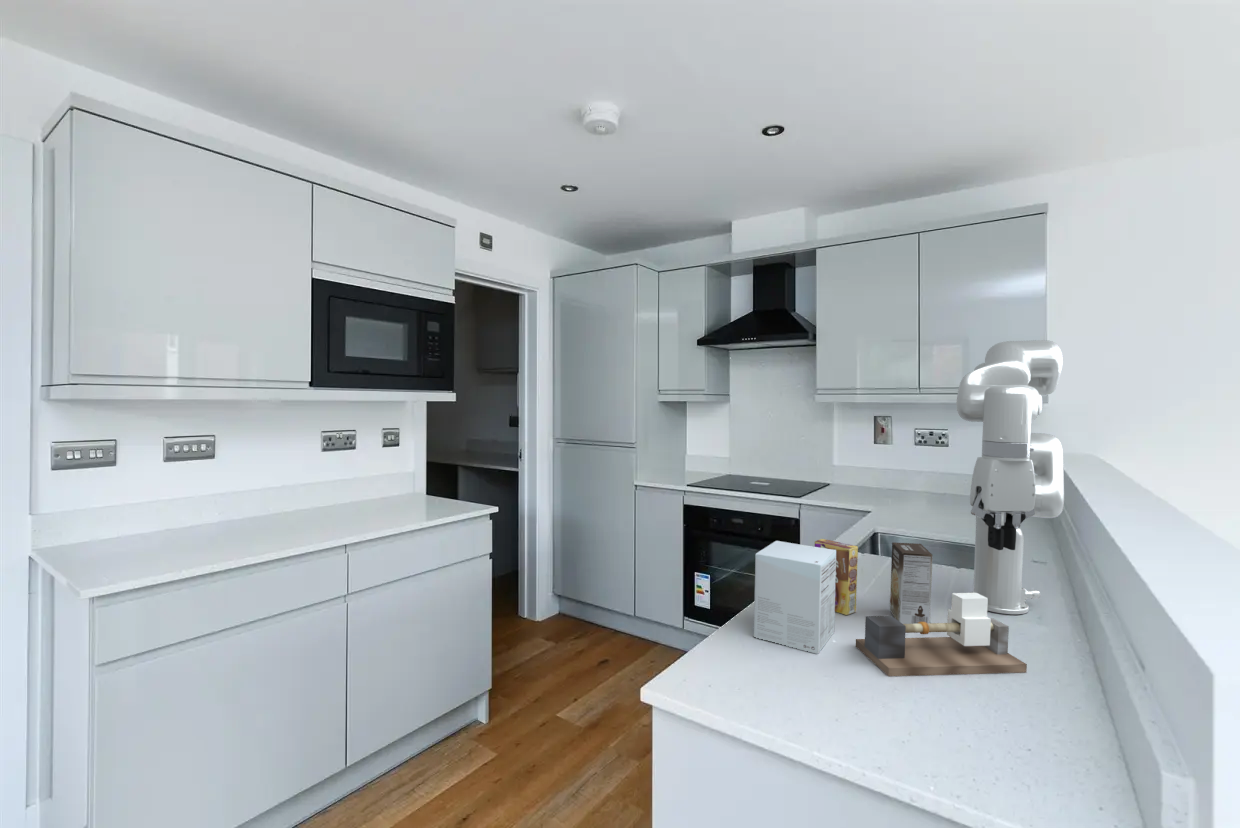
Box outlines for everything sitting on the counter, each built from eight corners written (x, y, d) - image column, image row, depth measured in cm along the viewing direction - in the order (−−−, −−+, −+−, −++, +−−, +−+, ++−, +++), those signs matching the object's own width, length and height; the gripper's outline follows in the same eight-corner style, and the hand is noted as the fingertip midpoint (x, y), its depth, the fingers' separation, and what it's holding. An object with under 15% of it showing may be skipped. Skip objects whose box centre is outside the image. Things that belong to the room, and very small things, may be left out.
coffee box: (888, 610, 134) (890, 541, 134) (918, 612, 133) (921, 543, 132) (899, 625, 125) (901, 552, 125) (931, 628, 124) (934, 554, 124)
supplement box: (835, 632, 122) (838, 549, 121) (818, 655, 111) (821, 564, 110) (773, 617, 129) (775, 539, 128) (752, 638, 118) (754, 553, 117)
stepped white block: (971, 634, 113) (973, 590, 113) (989, 645, 108) (991, 600, 108) (946, 634, 112) (948, 591, 112) (964, 646, 108) (966, 600, 107)
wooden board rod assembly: (979, 643, 117) (981, 606, 117) (1026, 672, 105) (1028, 631, 105) (855, 646, 115) (856, 609, 114) (888, 676, 103) (890, 634, 102)
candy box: (857, 612, 133) (859, 545, 132) (847, 616, 130) (849, 548, 130) (822, 600, 140) (823, 537, 139) (811, 604, 137) (813, 540, 137)
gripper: (1028, 449, 114) (1024, 542, 114) (952, 449, 112) (949, 543, 113) (1061, 453, 106) (1056, 553, 107) (979, 453, 105) (975, 554, 106)
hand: (1001, 547), depth 110 cm, fingers closed
